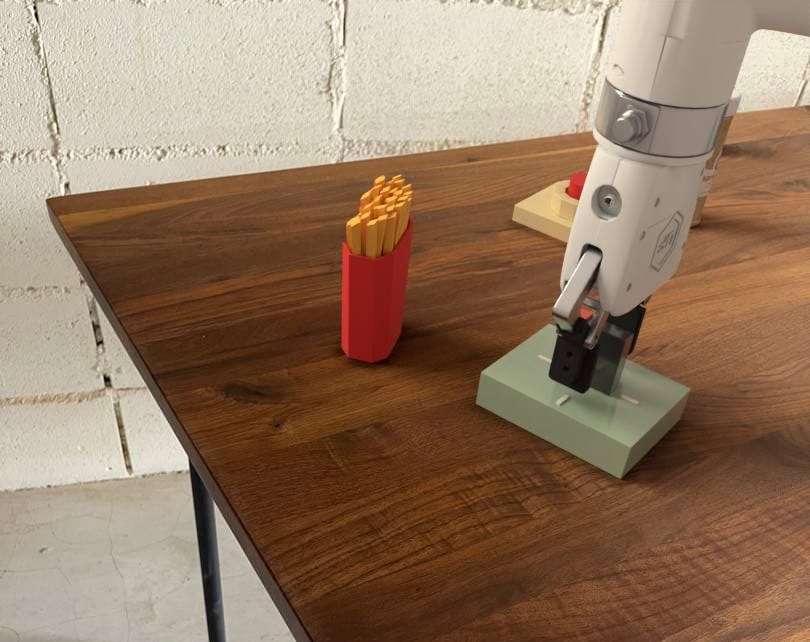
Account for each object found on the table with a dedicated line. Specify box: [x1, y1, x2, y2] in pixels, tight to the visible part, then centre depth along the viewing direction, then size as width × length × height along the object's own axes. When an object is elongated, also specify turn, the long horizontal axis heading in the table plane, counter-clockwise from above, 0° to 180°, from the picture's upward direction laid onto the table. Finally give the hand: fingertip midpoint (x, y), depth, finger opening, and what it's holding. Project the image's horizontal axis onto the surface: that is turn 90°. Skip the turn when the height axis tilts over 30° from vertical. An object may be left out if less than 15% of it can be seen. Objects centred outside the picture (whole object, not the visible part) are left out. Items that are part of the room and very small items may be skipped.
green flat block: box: [475, 323, 692, 480], centre depth 69 cm, size 13×10×3 cm
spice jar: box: [690, 87, 742, 228], centre depth 92 cm, size 5×5×13 cm
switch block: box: [511, 179, 579, 244], centre depth 93 cm, size 11×9×4 cm
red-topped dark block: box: [580, 308, 634, 395], centre depth 66 cm, size 5×1×5 cm, turn 52°
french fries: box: [341, 173, 414, 364], centre depth 70 cm, size 9×4×13 cm, turn 165°
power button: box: [567, 172, 588, 200], centre depth 91 cm, size 4×4×2 cm
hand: (591, 363), depth 67 cm, fingers open, 6 cm apart
